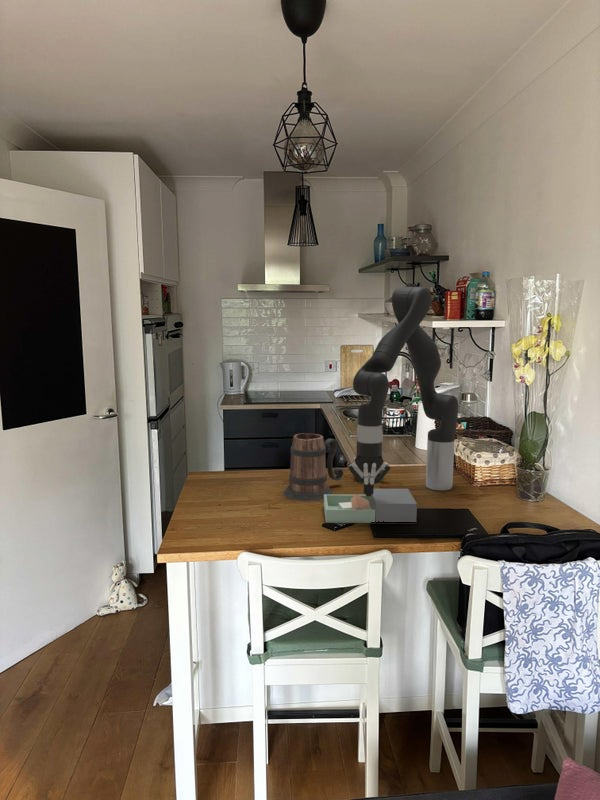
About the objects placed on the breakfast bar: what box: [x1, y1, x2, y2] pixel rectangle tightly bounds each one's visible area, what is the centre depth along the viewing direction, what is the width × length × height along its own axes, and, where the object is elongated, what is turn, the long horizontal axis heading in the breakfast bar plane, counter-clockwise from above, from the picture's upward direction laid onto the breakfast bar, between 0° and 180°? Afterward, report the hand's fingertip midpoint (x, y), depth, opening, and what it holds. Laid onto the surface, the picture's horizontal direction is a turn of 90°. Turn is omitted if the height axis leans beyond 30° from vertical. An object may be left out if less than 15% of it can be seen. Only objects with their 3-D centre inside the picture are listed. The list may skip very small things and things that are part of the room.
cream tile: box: [338, 502, 352, 509], centre depth 176 cm, size 5×5×2 cm
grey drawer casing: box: [370, 488, 418, 523], centre depth 176 cm, size 14×12×6 cm
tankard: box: [282, 432, 344, 502], centre depth 197 cm, size 24×17×20 cm
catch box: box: [323, 494, 376, 524], centre depth 176 cm, size 14×15×4 cm
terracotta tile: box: [351, 493, 370, 509], centre depth 173 cm, size 5×5×2 cm
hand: (368, 495), depth 172 cm, fingers closed
